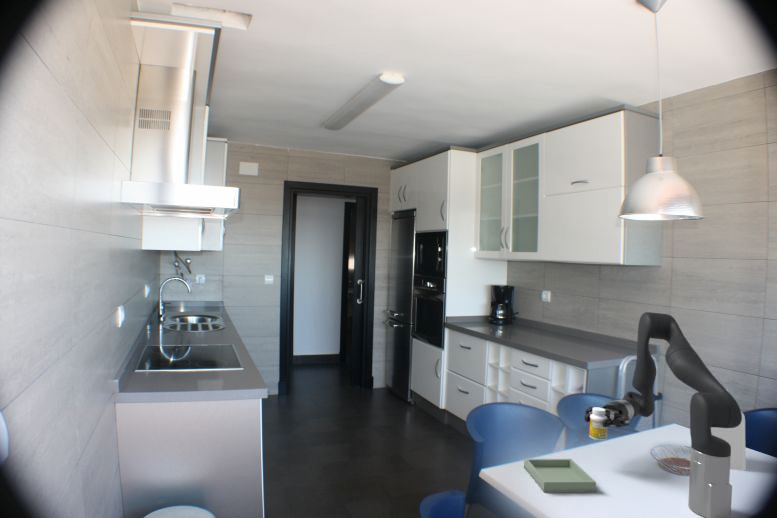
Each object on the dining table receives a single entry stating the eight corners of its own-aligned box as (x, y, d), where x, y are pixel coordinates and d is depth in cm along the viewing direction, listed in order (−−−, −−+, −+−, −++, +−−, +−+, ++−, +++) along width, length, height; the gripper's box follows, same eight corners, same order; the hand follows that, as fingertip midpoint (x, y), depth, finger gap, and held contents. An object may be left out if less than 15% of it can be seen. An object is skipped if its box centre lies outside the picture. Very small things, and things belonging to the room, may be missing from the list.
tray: (595, 492, 142) (595, 482, 142) (543, 492, 141) (544, 482, 141) (570, 467, 158) (570, 458, 158) (523, 467, 157) (524, 458, 157)
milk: (745, 470, 161) (749, 394, 160) (706, 465, 164) (710, 390, 163) (730, 456, 172) (733, 385, 172) (694, 451, 175) (697, 381, 175)
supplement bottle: (592, 433, 162) (592, 405, 162) (608, 437, 159) (609, 408, 159) (587, 438, 158) (588, 408, 158) (604, 442, 155) (605, 412, 155)
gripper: (598, 396, 173) (574, 404, 162) (639, 406, 162) (617, 416, 151) (598, 416, 173) (574, 426, 162) (639, 428, 162) (616, 439, 151)
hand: (595, 421), depth 157 cm, fingers closed on supplement bottle, 5 cm apart
